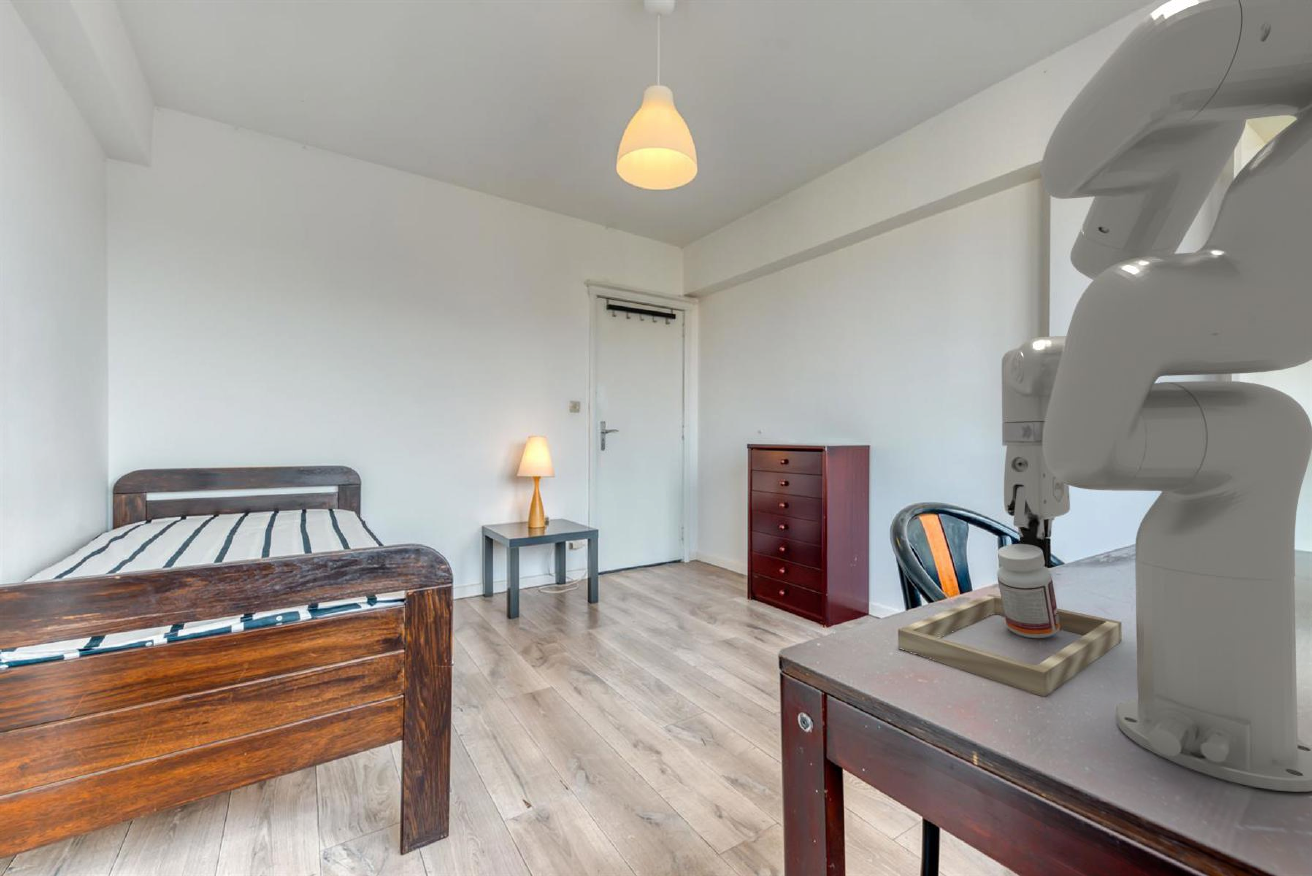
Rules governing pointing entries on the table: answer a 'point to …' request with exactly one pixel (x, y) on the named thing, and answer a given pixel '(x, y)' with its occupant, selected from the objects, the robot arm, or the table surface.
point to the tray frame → (1005, 670)
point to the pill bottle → (1027, 591)
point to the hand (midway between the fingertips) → (1035, 565)
